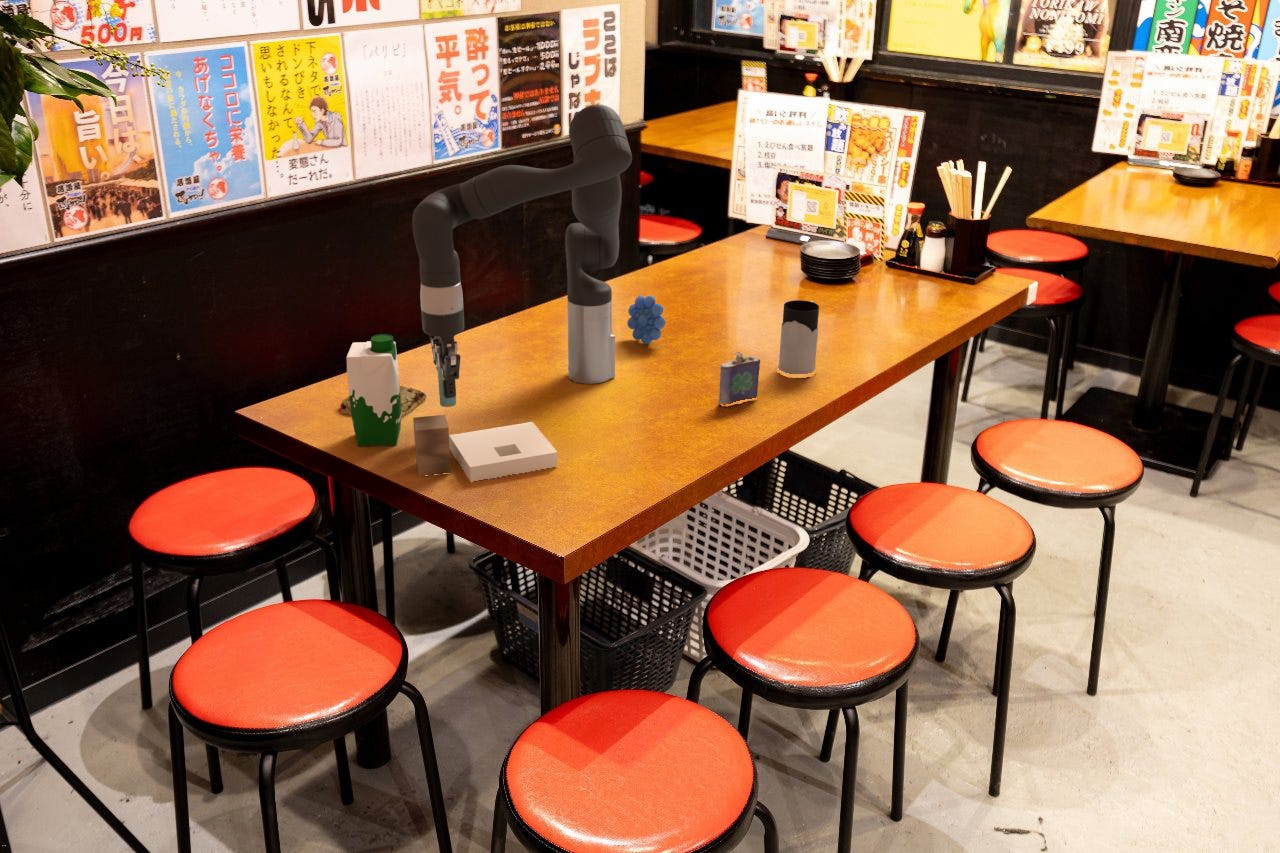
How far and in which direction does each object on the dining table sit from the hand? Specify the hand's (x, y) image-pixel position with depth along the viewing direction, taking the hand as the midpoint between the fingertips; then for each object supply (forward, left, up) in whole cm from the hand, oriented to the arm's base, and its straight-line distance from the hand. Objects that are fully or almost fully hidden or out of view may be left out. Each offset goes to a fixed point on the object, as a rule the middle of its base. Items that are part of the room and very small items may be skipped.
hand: (447, 393), depth 210 cm
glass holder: (-80, -5, -9) cm, 81 cm away
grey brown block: (+6, +13, -9) cm, 17 cm away
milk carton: (+13, -3, -9) cm, 16 cm away
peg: (0, 0, -2) cm, 2 cm away
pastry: (+9, -18, -9) cm, 22 cm away
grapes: (-55, -31, -9) cm, 64 cm away
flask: (-58, +7, -9) cm, 59 cm away
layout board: (-6, +14, -8) cm, 17 cm away
